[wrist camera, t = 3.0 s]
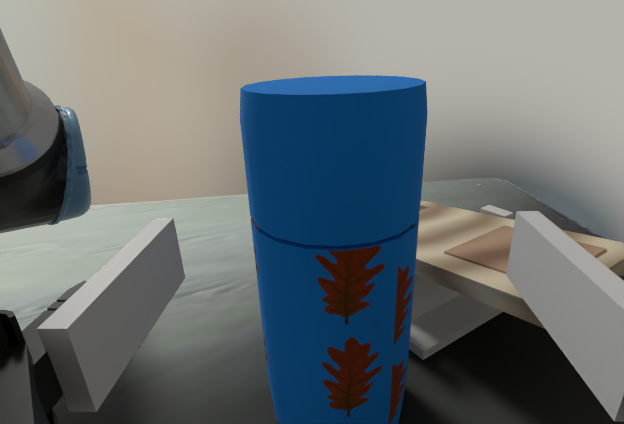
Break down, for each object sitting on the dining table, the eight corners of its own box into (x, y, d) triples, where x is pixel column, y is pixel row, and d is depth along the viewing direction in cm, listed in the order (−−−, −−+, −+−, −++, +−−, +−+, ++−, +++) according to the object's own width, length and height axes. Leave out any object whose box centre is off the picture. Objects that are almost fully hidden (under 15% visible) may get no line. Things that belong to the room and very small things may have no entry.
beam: (317, 233, 49) (313, 198, 48) (399, 206, 56) (398, 175, 55) (546, 329, 26) (550, 266, 25) (639, 264, 33) (646, 211, 31)
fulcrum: (347, 309, 43) (346, 236, 40) (456, 259, 52) (464, 196, 49) (414, 365, 36) (421, 280, 32) (529, 295, 44) (545, 223, 41)
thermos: (278, 352, 38) (253, 78, 28) (390, 350, 37) (405, 72, 27) (264, 464, 28) (218, 99, 18) (417, 462, 27) (456, 90, 17)
